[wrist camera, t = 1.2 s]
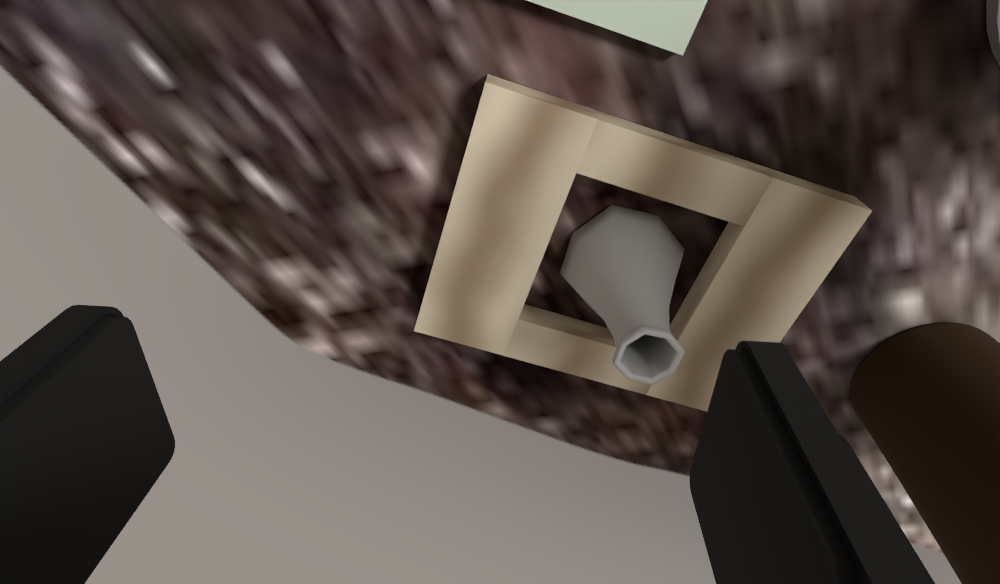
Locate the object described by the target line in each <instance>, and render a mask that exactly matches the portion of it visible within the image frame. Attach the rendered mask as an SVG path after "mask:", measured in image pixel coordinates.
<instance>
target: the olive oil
mask: <svg viewBox="0 0 1000 584" xmlns="http://www.w3.org/2000/svg"><path fill="white" fill-rule="evenodd" d="M850 395H851V401H852V404H853V407H854V409H855V411H856V412H857V414H858V416H859V417H860V419H861V421H862V422H863V424H864V425H865V427H866V428H867V430H868V431H869V433H870V435H871V436H872V438H873V439H874V441H875V442H876V444H877V445H878V447H879V449H880V450H881V452H882V453H883V455H884V456H885V458H886V459H887V461H888V463H889V464H890V466H891V467H892V469H893V471H894V472H895V474H896V476H897V477H898V479H899V480H900V482H901V484H902V485H903V487H904V489H905V490H906V492H907V494H908V495H909V497H910V498H911V500H912V502H913V503H914V505H915V507H916V508H917V510H918V512H919V513H920V515H921V516H922V518H923V520H924V521H925V523H926V525H927V526H928V528H929V530H930V531H931V533H932V535H933V536H934V538H935V540H936V541H937V543H938V545H939V546H940V548H941V550H942V551H943V553H944V555H945V556H946V558H947V559H948V561H949V563H950V565H951V566H952V568H953V569H954V571H955V573H956V575H957V576H958V578H959V579H960V581H961V583H962V584H1000V343H999V342H997V341H996V340H995V339H994V338H992V337H991V336H990V335H988V334H987V333H985V332H984V331H982V330H980V329H978V328H975V327H973V326H969V325H965V324H959V323H937V324H930V325H925V326H921V327H917V328H914V329H911V330H908V331H905V332H903V333H901V334H899V335H897V336H895V337H893V338H891V339H889V340H888V341H886V342H884V343H883V344H881V345H880V346H879V347H877V348H876V349H875V350H874V351H873V352H872V353H871V354H869V355H868V357H867V358H866V359H865V360H864V361H863V362H862V364H861V365H860V366H859V368H858V370H857V371H856V373H855V375H854V378H853V380H852V384H851V390H850Z"/></svg>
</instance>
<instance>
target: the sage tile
mask: <svg viewBox="0 0 1000 584" xmlns="http://www.w3.org/2000/svg"><path fill="white" fill-rule="evenodd" d="M527 1H529V2H532V3H535V4H538V5H541V6H544V7H546V8H549V9H552V10H555V11H558V12H561V13H563V14H566V15H569V16H572V17H575V18H578V19H580V20H583V21H586V22H589V23H592V24H595V25H597V26H600V27H603V28H606V29H609V30H612V31H614V32H617V33H620V34H623V35H626V36H629V37H631V38H634V39H637V40H640V41H643V42H646V43H648V44H651V45H654V46H657V47H660V48H663V49H665V50H668V51H671V52H674V53H677V54H680V55H682V56H683V54H684V52H685V50H686V47H687V45H688V43H689V41H690V38H691V36H692V34H693V32H694V29H695V27H696V25H697V23H698V21H699V18H700V16H701V14H702V12H703V9H704V7H705V5H706V3H707V0H527Z"/></svg>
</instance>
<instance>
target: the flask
mask: <svg viewBox="0 0 1000 584" xmlns="http://www.w3.org/2000/svg"><path fill="white" fill-rule="evenodd" d="M683 253H684V248H683V247H682V245H681V244H680V243H679V241H678V240H677V239H676V237H675V236H674V235H673V234H672V232H671V231H670V230H669V228H668V227H667V226H666V224H665V223H664V222H663V220H662V219H661V218H660V217H659V215H654V214H650V213H646V212H641V211H637V210H633V209H628V208H624V207H620V206H615V205H611V206H609V207H608V208H607V209H605V210H604V211H602V212H601V213H600V214H598V215H597V216H595V217H594V218H593V219H591V220H590V221H588V222H587V223H586V224H584V225H583V226H581V227H580V228H579V229H577V230H576V231H574V232H573V233H572V236H571V239H570V242H569V245H568V248H567V252H566V255H565V258H564V261H563V264H562V267H561V270H560V274H561V275H562V276H563V277H564V279H565V280H566V281H567V282H568V283H569V284H570V285H571V286H572V287H573V288H574V290H575V291H576V292H577V293H578V294H579V295H580V296H581V297H582V298H583V300H584V301H585V302H586V303H587V304H588V305H589V306H590V307H591V308H592V309H593V310H594V311H595V312H596V313H597V314H598V315H599V316H600V317H601V318H602V319H603V320H604V321H605V323H606V325H607V327H608V329H609V330H610V332H611V334H612V336H613V338H614V342H615V346H616V351H615V353H614V356H613V358H612V362H613V364H614V366H615V367H616V368H617V369H618V370H619V371H620V372H621V373H622V374H623V375H624V376H625V377H626V378H627V379H628V380H631V381H636V382H641V383H646V384H651V385H653V384H655V383H657V382H658V381H660V380H662V379H664V378H666V377H667V376H669V375H671V374H673V373H674V372H675V371H676V369H677V367H678V365H679V363H680V361H681V359H682V357H683V355H684V353H685V351H684V348H683V347H682V346H681V345H680V344H679V342H678V341H677V340H676V339H675V338H674V337H673V335H672V334H671V331H670V322H669V306H670V301H671V297H672V293H673V289H674V284H675V280H676V277H677V273H678V270H679V267H680V264H681V260H682V257H683Z"/></svg>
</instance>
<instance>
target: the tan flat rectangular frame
mask: <svg viewBox="0 0 1000 584" xmlns="http://www.w3.org/2000/svg"><path fill="white" fill-rule="evenodd" d="M576 173H578V174H581V175H584V176H587V177H590V178H593V179H597V180H600V181H603V182H606V183H609V184H612V185H615V186H619V187H622V188H625V189H628V190H631V191H634V192H637V193H640V194H644V195H647V196H650V197H653V198H656V199H659V200H662V201H666V202H669V203H672V204H675V205H678V206H681V207H684V208H687V209H691V210H694V211H697V212H700V213H703V214H706V215H709V216H713V217H716V218H719V219H722V220H725V221H728V224H727V225H726V227H725V229H724V231H723V232H722V234H721V236H720V238H719V239H718V241H717V243H716V245H715V247H714V248H713V250H712V252H711V254H710V255H709V257H708V259H707V261H706V262H705V264H704V266H703V268H702V269H701V271H700V273H699V275H698V276H697V278H696V280H695V282H694V283H693V285H692V287H691V289H690V290H689V292H688V294H687V296H686V298H685V299H684V301H683V303H682V305H681V306H680V308H679V310H678V312H677V313H676V315H675V317H674V319H673V320H672V322H671V324H670V331H671V334H672V335H673V337H674V338H675V339H676V340H677V341H678V342H679V344H680V345H681V346H682V347H683V348H684V351H685V353H684V355H683V357H682V359H681V361H680V363H679V365H678V367H677V369H676V371H675V372H674V373H673V374H671V375H669V376H667V377H666V378H664V379H662V380H660V381H658V382H657V383H655V384H653V385H651V384H646V383H641V382H636V381H631V380H628V379H627V378H626V377H625V376H624V375H623V374H622V373H621V372H620V371H619V370H618V369H617V368H616V367H615V366H614V364H613V362H612V358H613V356H614V353H615V351H616V346H615V342H614V338H613V336H612V334H611V332H610V330H609V329H608V328H606V327H603V326H599V325H596V324H592V323H589V322H585V321H582V320H578V319H575V318H571V317H568V316H564V315H561V314H557V313H554V312H550V311H547V310H543V309H540V308H537V307H533V306H530V305H526V304H524V303H525V301H526V298H527V296H528V293H529V291H530V288H531V286H532V283H533V281H534V278H535V276H536V273H537V271H538V268H539V266H540V263H541V261H542V258H543V256H544V253H545V251H546V248H547V246H548V243H549V241H550V238H551V236H552V233H553V231H554V228H555V226H556V223H557V220H558V218H559V215H560V213H561V210H562V208H563V205H564V203H565V200H566V198H567V195H568V193H569V190H570V188H571V185H572V183H573V180H574V178H575V175H576ZM871 212H872V210H871V209H870V208H868V207H867V206H866V205H865V204H863V203H862V202H861V201H860V200H858V199H857V198H856V197H854V196H851V195H848V194H845V193H842V192H839V191H836V190H833V189H830V188H827V187H824V186H821V185H818V184H815V183H812V182H809V181H806V180H803V179H800V178H797V177H794V176H791V175H788V174H785V173H782V172H779V171H776V170H773V169H770V168H767V167H764V166H761V165H758V164H755V163H752V162H749V161H746V160H743V159H740V158H737V157H734V156H731V155H728V154H725V153H722V152H719V151H716V150H713V149H710V148H707V147H704V146H701V145H698V144H695V143H692V142H689V141H686V140H683V139H680V138H677V137H674V136H671V135H668V134H665V133H662V132H659V131H656V130H653V129H650V128H648V127H645V126H642V125H639V124H636V123H633V122H630V121H627V120H624V119H621V118H618V117H615V116H612V115H609V114H606V113H603V112H600V111H597V110H594V109H591V108H588V107H585V106H582V105H579V104H576V103H573V102H570V101H567V100H564V99H561V98H558V97H555V96H552V95H549V94H546V93H543V92H540V91H537V90H534V89H531V88H528V87H525V86H522V85H519V84H516V83H513V82H510V81H507V80H504V79H501V78H498V77H495V76H492V75H489V74H488V75H487V78H486V81H485V85H484V88H483V92H482V95H481V99H480V102H479V106H478V109H477V113H476V116H475V120H474V123H473V127H472V130H471V134H470V137H469V141H468V144H467V148H466V151H465V155H464V158H463V162H462V165H461V169H460V172H459V176H458V179H457V183H456V186H455V190H454V193H453V197H452V200H451V204H450V207H449V210H448V214H447V217H446V221H445V224H444V228H443V231H442V235H441V238H440V242H439V245H438V249H437V252H436V256H435V259H434V263H433V266H432V270H431V273H430V277H429V280H428V284H427V287H426V291H425V294H424V298H423V301H422V305H421V308H420V312H419V315H418V319H417V322H416V326H415V329H414V331H415V332H419V333H423V334H426V335H430V336H434V337H437V338H441V339H444V340H448V341H452V342H455V343H459V344H463V345H466V346H470V347H474V348H477V349H481V350H485V351H488V352H492V353H495V354H499V355H503V356H506V357H510V358H514V359H517V360H521V361H525V362H528V363H532V364H535V365H539V366H543V367H546V368H550V369H554V370H557V371H561V372H565V373H568V374H572V375H576V376H579V377H583V378H586V379H590V380H594V381H597V382H601V383H605V384H608V385H612V386H616V387H619V388H623V389H626V390H630V391H634V392H637V393H641V394H645V395H648V396H652V397H656V398H659V399H663V400H666V401H670V402H674V403H677V404H681V405H685V406H688V407H692V408H696V409H699V410H703V411H708V407H709V404H710V400H711V397H712V393H713V390H714V386H715V383H716V379H717V376H718V372H719V369H720V365H721V362H722V358H723V355H724V353H725V351H726V350H728V349H734V350H735V349H736V346H737V345H738V343H739V342H741V341H761V342H778V343H780V341H781V340H782V339H783V337H784V336H785V334H786V333H787V331H788V330H789V329H790V327H791V326H792V324H793V323H794V322H795V320H796V319H797V317H798V316H799V314H800V313H801V312H802V310H803V309H804V307H805V306H806V305H807V303H808V302H809V300H810V299H811V297H812V296H813V295H814V293H815V292H816V290H817V289H818V287H819V286H820V285H821V283H822V282H823V280H824V279H825V278H826V276H827V275H828V273H829V272H830V270H831V269H832V268H833V266H834V265H835V263H836V262H837V260H838V259H839V258H840V256H841V255H842V253H843V252H844V251H845V249H846V248H847V246H848V245H849V243H850V242H851V241H852V239H853V238H854V236H855V235H856V234H857V232H858V231H859V229H860V228H861V226H862V225H863V224H864V222H865V221H866V219H867V218H868V216H869V215H870V214H871Z"/></svg>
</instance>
